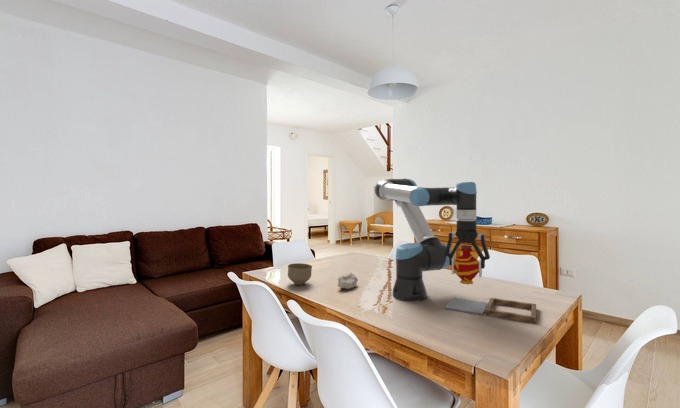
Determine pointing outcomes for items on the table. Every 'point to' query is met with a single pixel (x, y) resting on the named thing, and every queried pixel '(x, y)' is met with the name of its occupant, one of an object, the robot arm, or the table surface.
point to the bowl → (299, 273)
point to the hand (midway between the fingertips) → (466, 274)
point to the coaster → (466, 306)
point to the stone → (347, 281)
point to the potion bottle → (466, 265)
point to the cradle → (507, 314)
